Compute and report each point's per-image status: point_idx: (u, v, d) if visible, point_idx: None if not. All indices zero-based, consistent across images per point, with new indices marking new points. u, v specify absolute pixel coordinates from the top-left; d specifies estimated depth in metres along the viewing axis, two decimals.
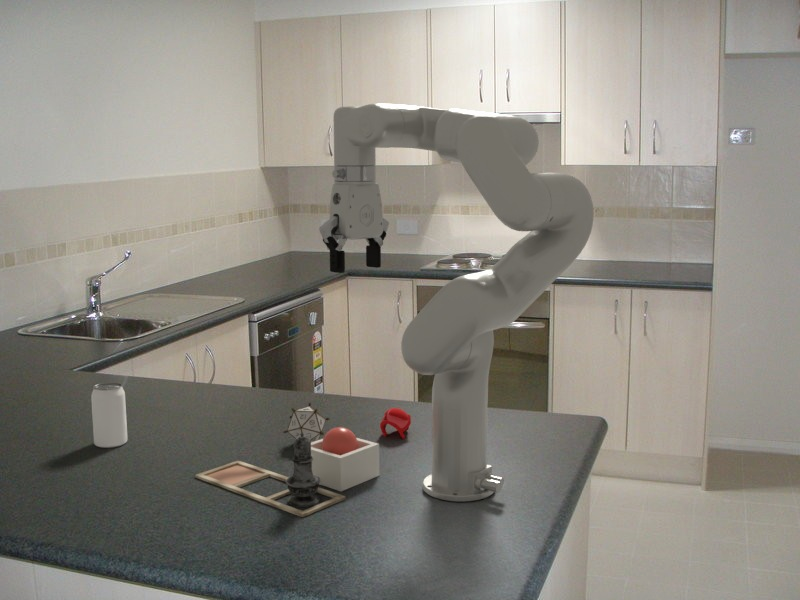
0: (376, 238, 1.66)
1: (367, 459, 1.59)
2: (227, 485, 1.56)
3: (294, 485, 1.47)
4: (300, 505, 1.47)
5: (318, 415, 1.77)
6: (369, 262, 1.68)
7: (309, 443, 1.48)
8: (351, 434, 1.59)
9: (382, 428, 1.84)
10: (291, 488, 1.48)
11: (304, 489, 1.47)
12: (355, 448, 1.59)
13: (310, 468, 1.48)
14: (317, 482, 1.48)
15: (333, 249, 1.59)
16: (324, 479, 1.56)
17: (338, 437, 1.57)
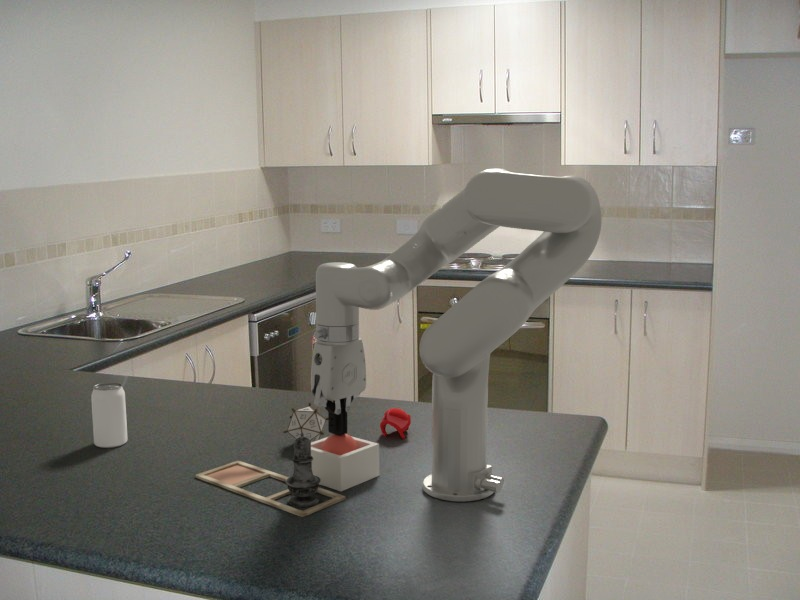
0: (347, 400, 1.59)
1: (367, 459, 1.59)
2: (227, 485, 1.56)
3: (294, 485, 1.47)
4: (300, 505, 1.47)
5: (318, 415, 1.77)
6: None
7: (309, 443, 1.48)
8: (351, 439, 1.59)
9: (382, 428, 1.84)
10: (291, 488, 1.48)
11: (304, 489, 1.47)
12: None
13: (310, 468, 1.48)
14: (317, 482, 1.48)
15: (332, 412, 1.58)
16: (324, 479, 1.56)
17: (338, 442, 1.57)
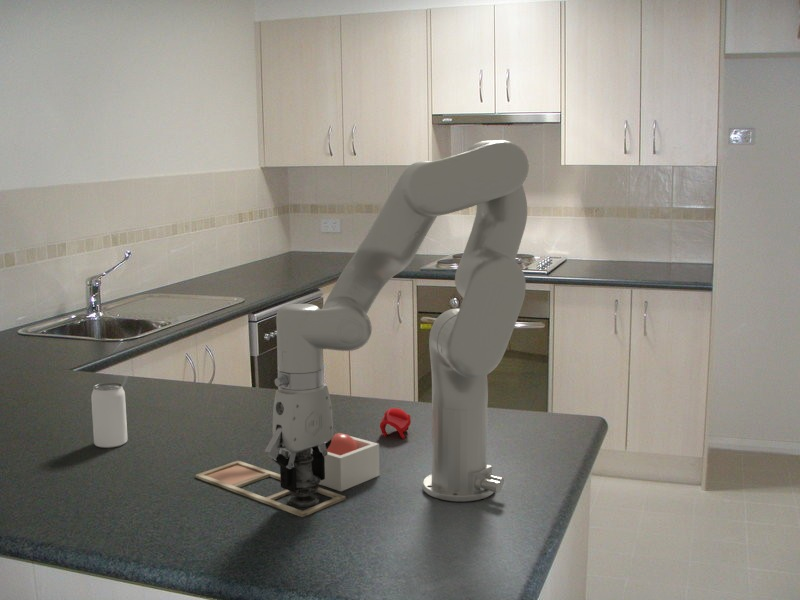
0: (321, 447, 1.50)
1: (367, 459, 1.59)
2: (227, 485, 1.56)
3: None
4: (300, 505, 1.47)
5: None
6: None
7: None
8: (351, 440, 1.59)
9: (382, 428, 1.83)
10: None
11: (304, 489, 1.47)
12: None
13: (310, 468, 1.48)
14: (317, 482, 1.48)
15: (283, 466, 1.45)
16: (324, 479, 1.56)
17: (338, 443, 1.57)
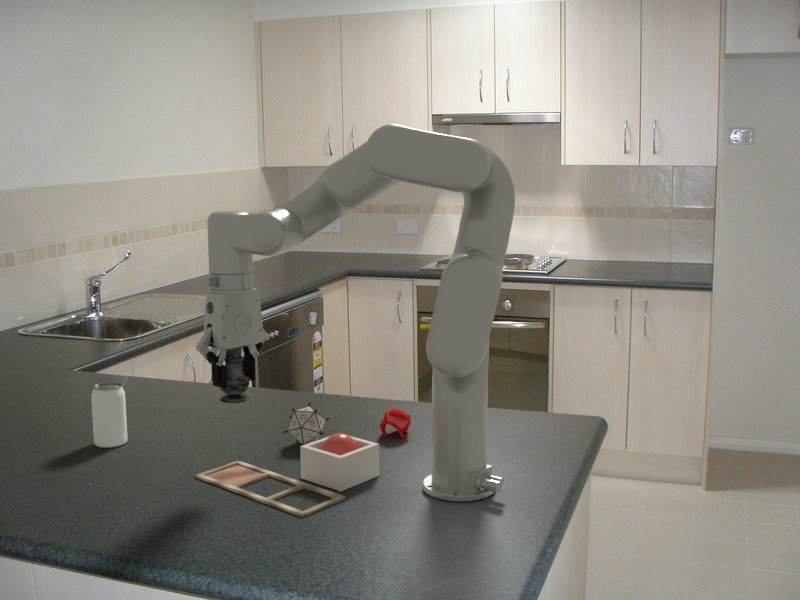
0: (251, 348, 1.58)
1: (367, 459, 1.59)
2: (227, 485, 1.56)
3: None
4: (230, 402, 1.56)
5: (318, 415, 1.77)
6: (244, 374, 1.60)
7: None
8: (351, 440, 1.59)
9: (382, 428, 1.83)
10: None
11: (234, 386, 1.55)
12: None
13: (240, 367, 1.57)
14: (247, 380, 1.57)
15: (214, 364, 1.54)
16: (324, 479, 1.56)
17: (338, 443, 1.57)
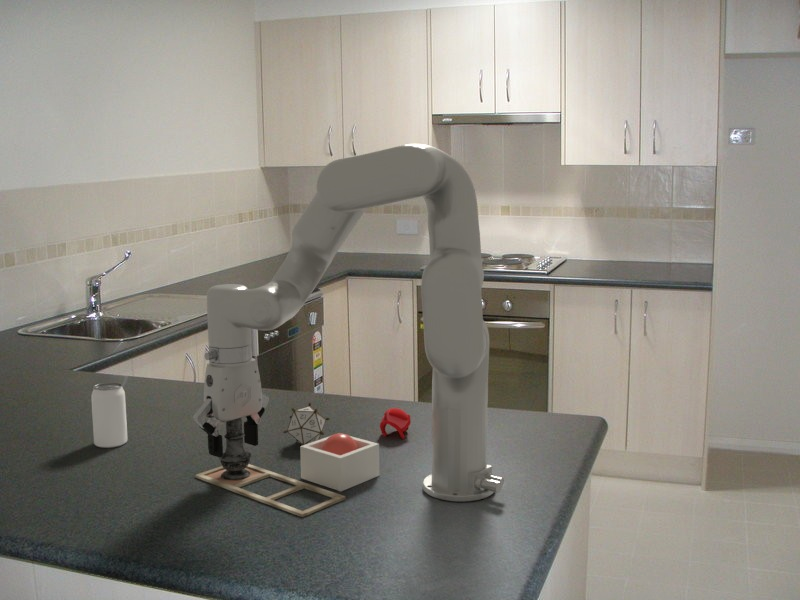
0: (253, 415, 1.62)
1: (367, 459, 1.59)
2: (227, 485, 1.56)
3: (225, 459, 1.59)
4: (231, 478, 1.59)
5: (318, 415, 1.77)
6: (247, 439, 1.64)
7: (240, 421, 1.59)
8: (351, 440, 1.59)
9: (382, 428, 1.83)
10: (223, 462, 1.59)
11: (234, 463, 1.58)
12: None
13: (241, 444, 1.60)
14: (247, 457, 1.60)
15: (210, 434, 1.56)
16: (324, 479, 1.56)
17: (338, 443, 1.57)
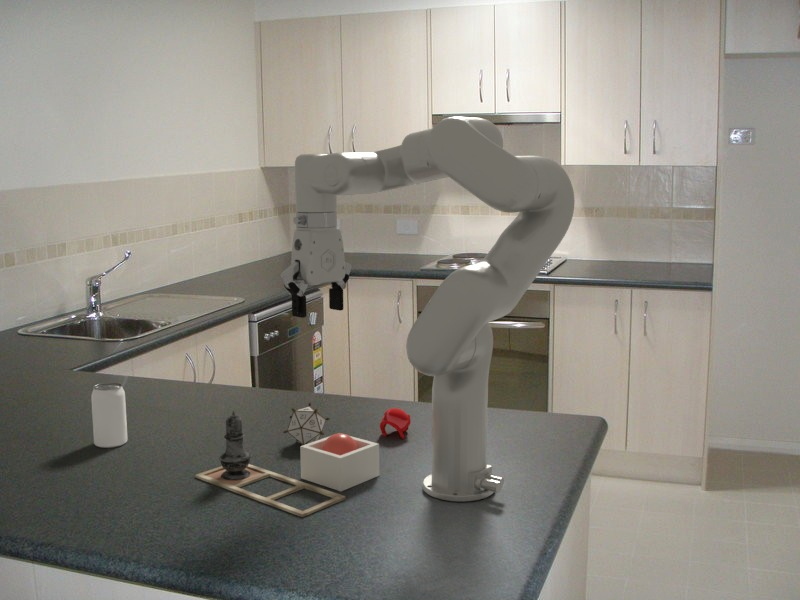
0: (338, 282, 1.68)
1: (367, 459, 1.59)
2: (227, 485, 1.56)
3: (225, 459, 1.59)
4: (231, 479, 1.59)
5: (318, 415, 1.77)
6: (332, 305, 1.70)
7: (240, 421, 1.59)
8: (351, 440, 1.59)
9: (382, 428, 1.83)
10: (223, 463, 1.59)
11: (234, 464, 1.58)
12: None
13: (241, 444, 1.60)
14: (247, 457, 1.60)
15: (294, 294, 1.61)
16: (324, 479, 1.56)
17: (338, 443, 1.57)
